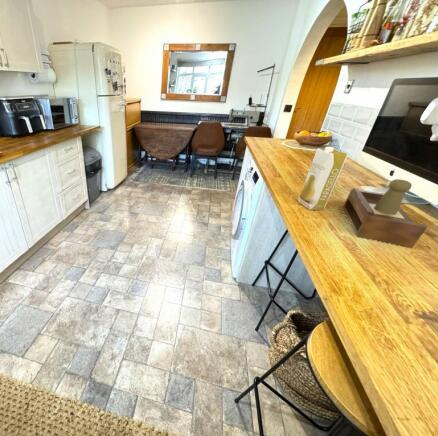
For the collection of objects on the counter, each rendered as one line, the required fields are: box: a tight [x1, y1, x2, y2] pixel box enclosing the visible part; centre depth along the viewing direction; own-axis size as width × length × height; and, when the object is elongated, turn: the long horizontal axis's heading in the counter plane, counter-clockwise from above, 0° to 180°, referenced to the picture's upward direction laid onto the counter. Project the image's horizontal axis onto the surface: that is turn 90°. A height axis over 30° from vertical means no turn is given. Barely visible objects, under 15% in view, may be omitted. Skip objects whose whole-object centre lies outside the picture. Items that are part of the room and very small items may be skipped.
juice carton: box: [297, 146, 349, 211], centre depth 93 cm, size 9×8×24 cm
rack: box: [342, 187, 428, 249], centre depth 84 cm, size 14×24×9 cm, turn 154°
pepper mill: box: [374, 178, 413, 215], centre depth 80 cm, size 6×6×11 cm
